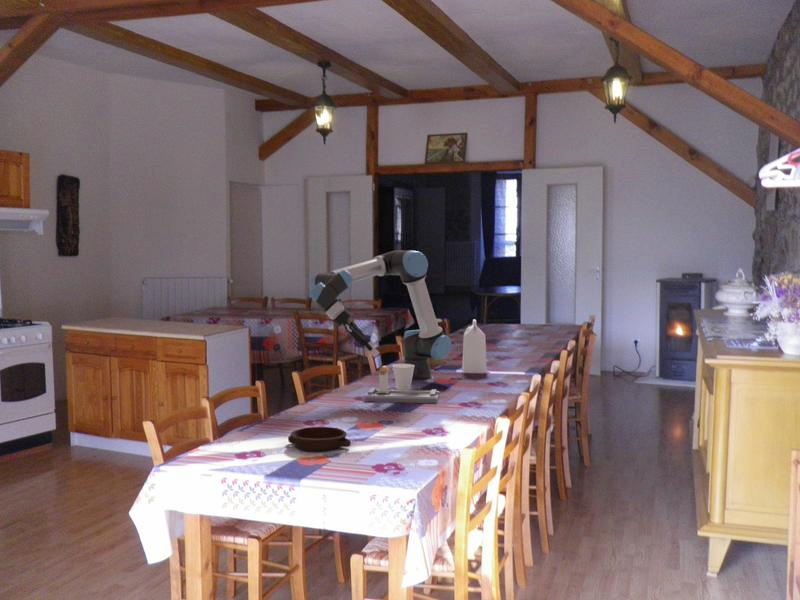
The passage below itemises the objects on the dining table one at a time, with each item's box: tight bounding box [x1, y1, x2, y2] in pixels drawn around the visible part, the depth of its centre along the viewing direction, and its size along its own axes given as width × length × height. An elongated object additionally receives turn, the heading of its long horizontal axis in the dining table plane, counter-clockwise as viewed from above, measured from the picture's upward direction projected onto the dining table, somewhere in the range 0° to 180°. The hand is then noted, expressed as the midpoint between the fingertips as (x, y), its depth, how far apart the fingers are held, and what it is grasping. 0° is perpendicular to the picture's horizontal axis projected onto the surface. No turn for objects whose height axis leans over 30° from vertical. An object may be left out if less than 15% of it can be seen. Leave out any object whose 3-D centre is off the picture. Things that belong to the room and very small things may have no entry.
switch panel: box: [364, 387, 440, 404], centre depth 332 cm, size 30×14×4 cm, turn 82°
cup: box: [392, 363, 415, 390], centre depth 351 cm, size 10×10×11 cm
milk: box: [461, 319, 488, 374], centre depth 400 cm, size 12×12×26 cm
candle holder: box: [428, 318, 447, 367], centre depth 423 cm, size 11×11×24 cm
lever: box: [376, 365, 392, 395], centre depth 333 cm, size 5×8×12 cm, turn 172°
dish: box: [287, 426, 352, 453], centre depth 257 cm, size 18×22×5 cm
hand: (377, 355), depth 332 cm, fingers closed
